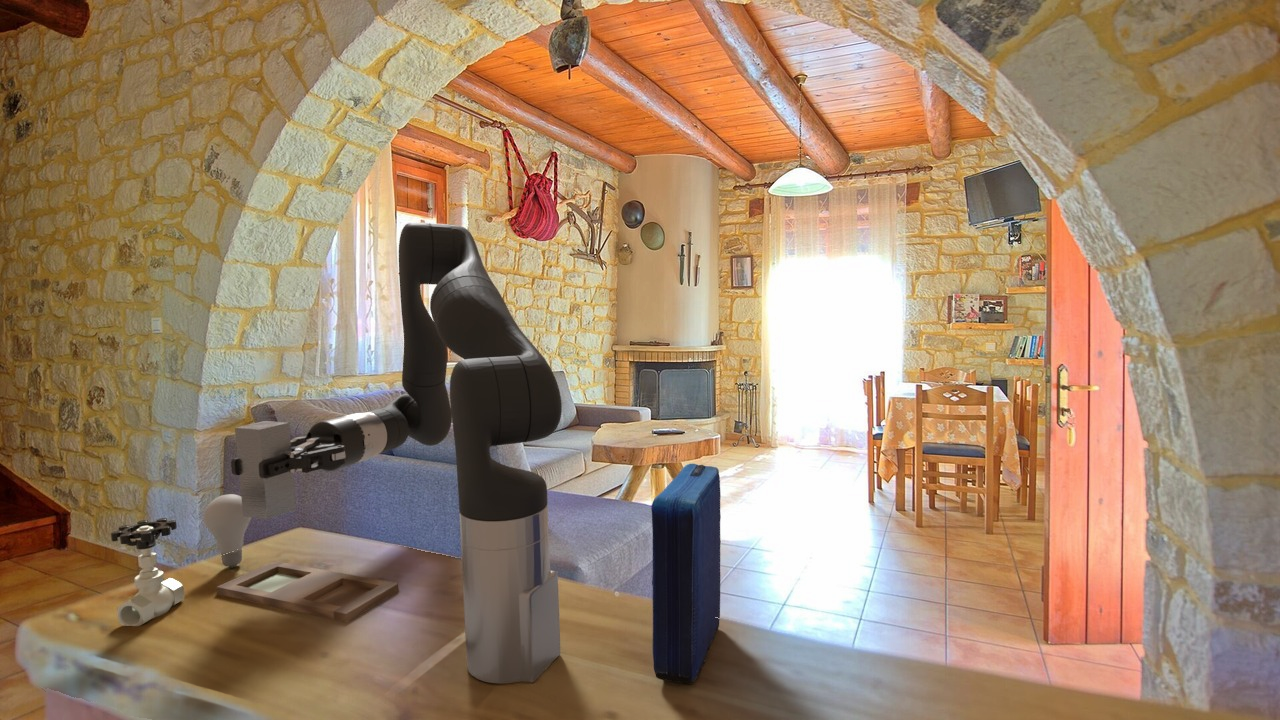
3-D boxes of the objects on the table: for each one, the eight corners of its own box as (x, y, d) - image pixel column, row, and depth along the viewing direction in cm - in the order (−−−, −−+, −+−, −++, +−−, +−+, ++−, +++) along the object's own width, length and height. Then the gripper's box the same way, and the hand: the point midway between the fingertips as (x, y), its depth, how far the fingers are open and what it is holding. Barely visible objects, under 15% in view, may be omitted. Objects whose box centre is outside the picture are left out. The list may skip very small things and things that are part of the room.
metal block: (296, 508, 93) (289, 422, 92) (267, 519, 89) (259, 429, 88) (272, 505, 95) (265, 420, 94) (243, 516, 91) (234, 427, 90)
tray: (399, 596, 91) (398, 583, 91) (347, 627, 83) (346, 613, 82) (275, 573, 99) (274, 561, 99) (217, 599, 91) (216, 586, 91)
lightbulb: (264, 563, 103) (258, 492, 102) (222, 578, 98) (215, 503, 96) (242, 555, 106) (236, 486, 105) (200, 570, 101) (193, 497, 100)
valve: (197, 607, 89) (188, 518, 88) (156, 633, 82) (147, 536, 81) (150, 606, 90) (141, 517, 88) (106, 631, 83) (96, 535, 82)
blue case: (683, 620, 83) (680, 458, 81) (726, 626, 81) (725, 461, 79) (648, 687, 69) (644, 494, 67) (700, 695, 67) (697, 498, 65)
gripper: (311, 413, 107) (206, 437, 91) (383, 418, 101) (284, 444, 86) (315, 460, 108) (211, 492, 92) (386, 467, 102) (289, 502, 87)
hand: (247, 469), depth 89 cm, fingers closed on metal block, 4 cm apart
